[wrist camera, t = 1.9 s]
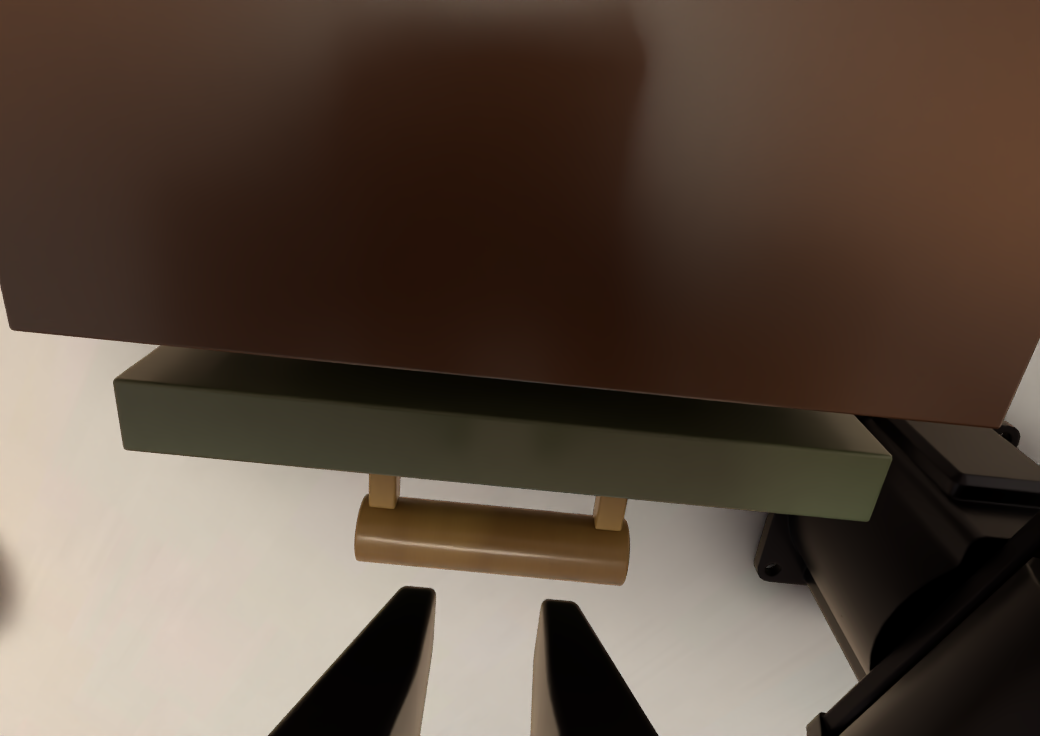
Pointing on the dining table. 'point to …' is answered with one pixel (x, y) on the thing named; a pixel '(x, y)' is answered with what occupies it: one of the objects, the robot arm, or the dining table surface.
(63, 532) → the dining table surface
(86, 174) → the cabinet
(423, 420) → the drawer
